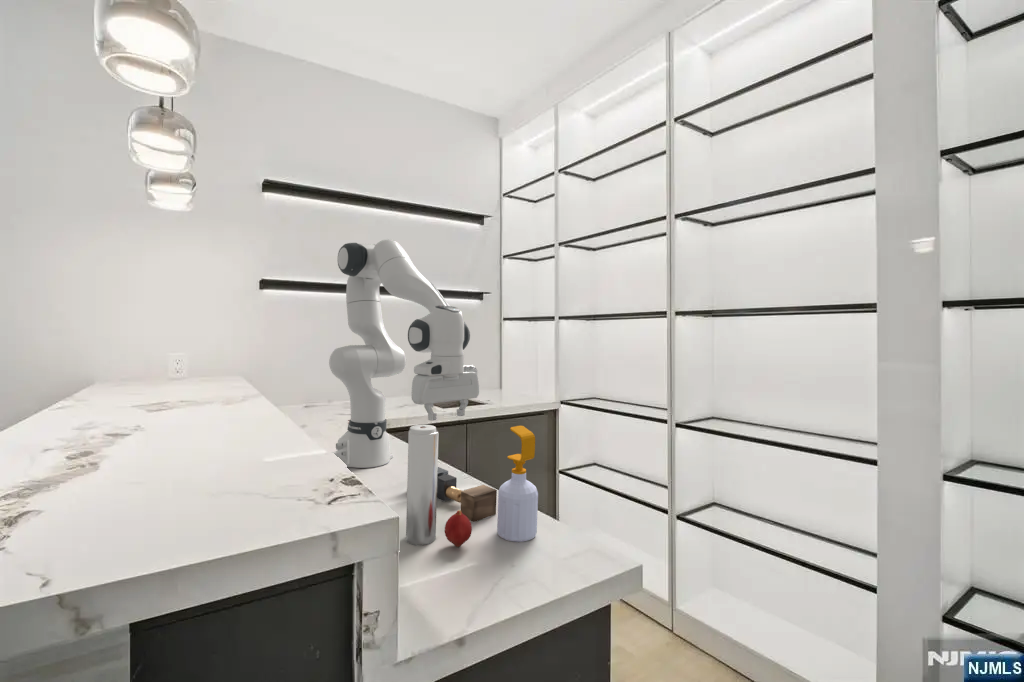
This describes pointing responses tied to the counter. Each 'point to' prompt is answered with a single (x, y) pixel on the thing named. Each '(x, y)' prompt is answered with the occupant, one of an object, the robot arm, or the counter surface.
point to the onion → (458, 529)
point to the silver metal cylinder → (422, 484)
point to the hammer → (448, 488)
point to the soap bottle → (518, 495)
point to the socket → (478, 502)
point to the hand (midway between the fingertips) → (446, 417)
